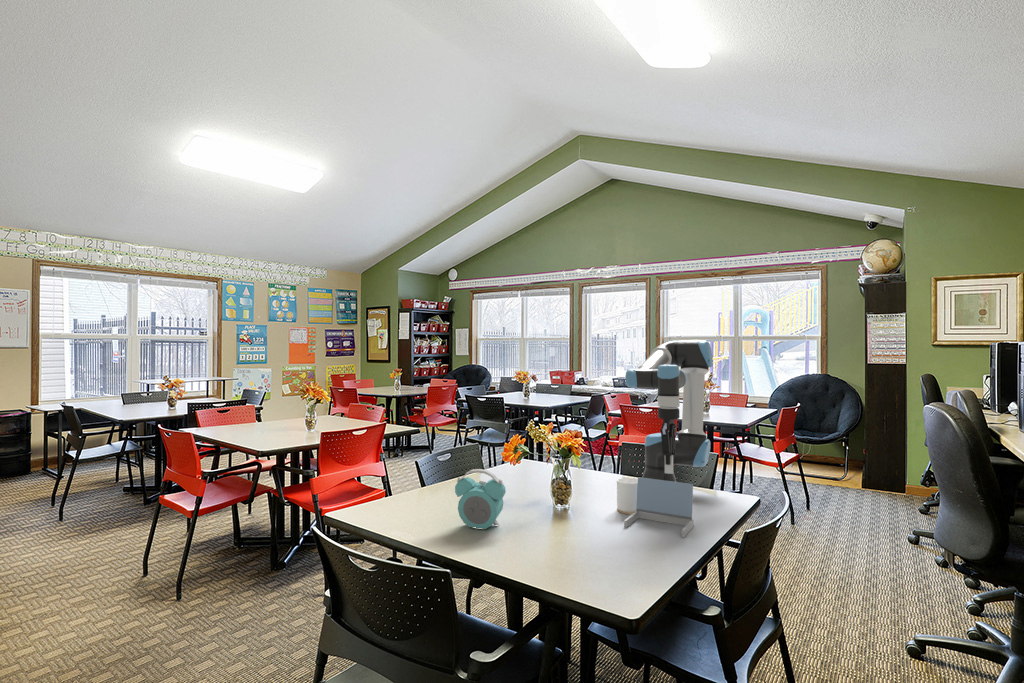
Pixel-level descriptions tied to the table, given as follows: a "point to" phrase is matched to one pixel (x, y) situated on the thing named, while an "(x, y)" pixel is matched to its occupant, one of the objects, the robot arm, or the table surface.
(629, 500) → the mug
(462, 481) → the alarm clock
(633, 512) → the coaster
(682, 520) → the bracket
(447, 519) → the table surface
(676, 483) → the cover
